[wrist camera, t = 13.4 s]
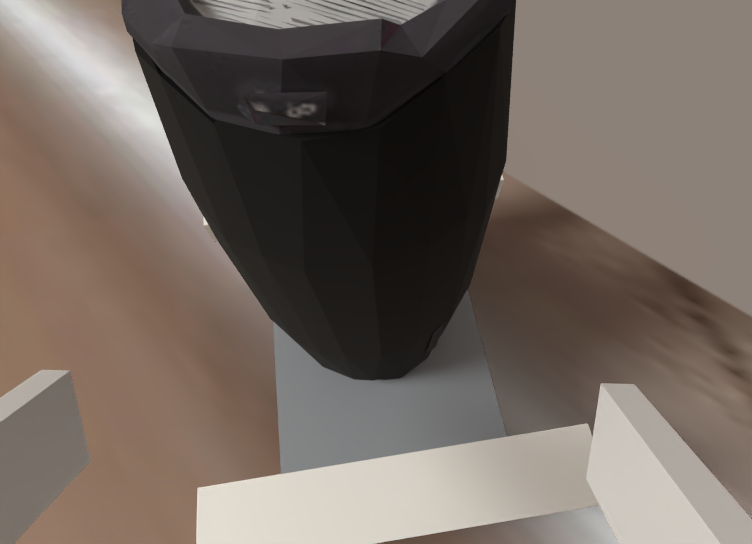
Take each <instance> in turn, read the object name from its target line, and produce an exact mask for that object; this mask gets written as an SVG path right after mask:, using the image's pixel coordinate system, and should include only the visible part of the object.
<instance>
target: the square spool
mask: <svg viewBox="0 0 752 544" xmlns="http://www.w3.org/2000/svg"><path fill="white" fill-rule="evenodd" d="M503 181H504V179H503V176H501V180H500V183H499V186H498V190H497V193H496V197H495V199H498V197H499V194H500V190H501V187H502V184H503ZM204 227H205V228H206V230H207V231H208V233H209V234H210V236H211V237H212V239H213V240H214V242H218V240H217V239H216V237H215V235H214V234H213V232H212V230H211V228H210V227H209V225H208V223H207V221H206V220H205V218H204ZM273 329H274V348H275V367H276V386H277V405H278V425H279V444H280V463H281V474H279V475H273V476H267V477H261V478H255V479H249V480H243V481H237V482H231V483H225V484H218V485H212V486H206V487H200V488H198V492H197V535H196V544H375V543H381V542H387V541H393V540H398V539H404V538H410V537H416V536H422V535H428V534H434V533H439V532H445V531H451V530H457V529H463V528H469V527H475V526H480V525H486V524H492V523H498V522H504V521H510V520H516V519H522V518H527V517H533V516H539V515H545V514H551V513H557V512H563V511H568V510H574V509H580V508H586V507H592V506H598V505H599V503H598V501H597V499H596V497H595V495H594V493H593V491H592V489H591V487H590V485H589V483H588V481H587V479H586V476H587V470H588V463H589V457H590V450H591V444H592V434H591V431H590V428H589V425H588V423H586V424H580V425H574V426H568V427H562V428H556V429H550V430H544V431H538V432H532V433H526V434H520V435H514V436H508V437H507V435H506V431H505V427H504V423H503V420H502V416H501V412H500V408H499V405H498V401H497V397H496V393H495V389H494V386H493V382H492V378H491V374H490V371H489V367H488V363H487V359H486V356H485V352H484V348H483V344H482V341H481V337H480V333H479V329H478V326H477V322H476V318H475V314H474V310H473V307H472V303H471V299H470V295H469V292H468V289H467V291H466V293H465V294H464V296H463V298H462V300H461V302H460V303H459V305H458V307H457V309H456V310H455V312H454V314H453V316H452V318H451V319H450V321H449V323H448V325H447V327H446V328H445V330H444V332H443V334H442V335H441V336H440V337H439V339H438V342H437V345H436V347H435V348H433V349H432V350H431V352H430V354H429V356H428V358H427V359H426V360H424V361H423V362H422V363H420V364H419V365H418V366H416V367H415V368H414V369H412V370H411V371H410V372H409V373H407V374H406V375H405V376H403V377H402V378H399V379H390V380H378V379H377V380H374V381H371V380H354V379H352V378H349V377H347V376H344V375H342V374H339V373H337V372H334V371H332V370H329V369H327V368H324V367H322V366H321V365H320V364H319V363H318V362H317V361H316V360H315V359H314V358H313V357H312V356H310V355H309V354H308V353H307V352H306V351H305V350H304V349H303V348H302V347H301V346H300V345H299V344H297V343H296V342H295V341H294V340H293V339H292V338H291V337H290V336H289V335H288V334H287V333H285V332H284V331H283V330H282V329H281V328H280V327H279V326H278V325H277V324H276V323H275V322H274V321H273Z"/></svg>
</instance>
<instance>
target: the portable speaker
mask: <svg viewBox="0 0 752 544" xmlns="http://www.w3.org/2000/svg"><path fill="white" fill-rule="evenodd" d="M515 7H516V0H122V15H123V19H124V22H125V26H126V29H127V32H128V33H129V34H130V35H131V36H132V37H133V42H134V47H135V51H136V54H137V57H138V59H139V62H140V65H141V68H142V70H143V73H144V76H145V78H146V81H147V84H148V87H149V89H150V92H151V95H152V97H153V100H154V103H155V106H156V108H157V111H158V114H159V116H160V119H161V122H162V125H163V127H164V130H165V133H166V136H167V138H168V141H169V144H170V146H171V149H172V152H173V155H174V157H175V160H176V163H177V165H178V168H179V171H180V174H181V176H182V179H183V181H184V182H185V184H186V186H187V188H188V189H189V191H190V193H191V195H192V197H193V198H194V200H195V202H196V204H197V205H198V207H199V209H200V211H201V212H202V214H203V216H204V218H205V220H206V221H207V223H208V225H209V227H210V228H211V230H212V232H213V234H214V235H215V237H216V239H217V240H218V242H219V243H220V245H221V246H222V248H223V249H224V251H225V252H226V254H227V255H228V257H229V258H230V260H231V261H232V262H233V264H234V265H235V267H236V268H237V270H238V271H239V273H240V274H241V276H242V277H243V279H244V280H245V282H246V283H247V285H248V286H249V288H250V289H251V291H252V292H253V294H254V295H255V296H256V298H257V299H258V301H259V302H260V304H261V305H262V307H263V308H264V310H265V311H266V313H267V314H268V316H269V317H270V319H271V320H272V321H274V322H275V323H276V324H277V325H278V326H279V327H280V328H281V329H282V330H283V331H284V332H285V333H287V334H288V335H289V336H290V337H291V338H292V339H293V340H294V341H295V342H296V343H297V344H299V345H300V346H301V347H302V348H303V349H304V350H305V351H306V352H307V353H308V354H309V355H310V356H312V357H313V358H314V359H315V360H316V361H317V362H318V363H319V364H320V365H321V366H322V367H324V368H327V369H329V370H332V371H334V372H337V373H339V374H342V375H344V376H347V377H349V378H352V379H354V380H371V381H374V380H377V379H378V380H390V379H399V378H402V377H403V376H405V375H406V374H407V373H409V372H410V371H411V370H412V369H414V368H415V367H416V366H418V365H419V364H420V363H422V362H423V361H424V360H426V359H427V358H428V356H429V354H430V352H431V350H432V349H433V348H435V347H436V345H437V342H438V339H439V337H440V336H441V335H442V334H443V332H444V330H445V328H446V327H447V325H448V323H449V321H450V319H451V318H452V316H453V314H454V312H455V310H456V309H457V307H458V305H459V303H460V302H461V300H462V298H463V296H464V294H465V293H466V291H467V289H468V287H469V285H470V283H471V279H472V276H473V272H474V269H475V265H476V262H477V258H478V255H479V252H480V248H481V245H482V241H483V238H484V234H485V231H486V228H487V224H488V221H489V217H490V214H491V210H492V207H493V204H494V200H495V197H496V193H497V190H498V186H499V183H500V180H501V176H502V173H503V169H504V166H505V162H506V154H507V137H508V122H509V105H510V88H511V72H512V56H513V40H514V24H515Z"/></svg>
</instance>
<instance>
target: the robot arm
mask: <svg viewBox="0 0 752 544" xmlns="http://www.w3.org/2000/svg"><path fill="white" fill-rule="evenodd" d="M90 461H91V460H90V455H89V451H88V447H87V442H86V438H85V434H84V429H83V425H82V421H81V416H80V412H79V408H78V403H77V399H76V394H75V390H74V386H73V381H72V377H71V373H70V371H66V370H40V371H39V372H37V373H36V374H34V375H33V376H31V377H30V378H29V379H27V380H26V381H24V382H23V383H21V384H20V385H18V386H17V387H15V388H14V389H12V390H11V391H9V392H8V393H6V394H5V395H4V396H2V397H1V398H0V544H14V543H15V542H16V541H17V540H18V539H19V538H20V536H21V535H22V534H23V533H24V532H25V531H26V530H27V529H28V528H29V527H30V526H31V525H32V524H33V523H34V521H35V520H36V519H37V518H38V517H39V516H40V515H41V514H42V513H43V512H44V511H45V510H46V509H47V507H48V506H49V505H50V504H51V503H52V502H53V501H54V500H55V499H56V498H57V497H58V496H59V495H60V493H61V492H62V491H63V490H64V489H65V488H66V487H67V486H68V485H69V484H70V483H71V482H72V481H73V480H74V478H75V477H76V476H77V475H78V474H79V473H80V472H81V471H82V470H83V469H84V468H85V467H86V466H87V464H88V463H89V462H90ZM586 479H587V481H588V483H589V485H590V487H591V489H592V491H593V493H594V495H595V497H596V499H597V501H598V503H599V505H600V507H601V509H602V511H603V513H604V515H605V517H606V519H607V521H608V523H609V525H610V527H611V529H612V531H613V533H614V535H615V537H616V539H617V541H618V543H619V544H752V519H751V518H750V517H749V515H748V514H747V513H746V512H745V511H744V510H743V509H742V507H741V506H740V505H739V504H738V503H737V502H736V500H735V499H734V498H733V497H732V496H731V495H730V494H729V492H728V491H727V490H726V489H725V488H724V487H723V486H722V484H721V483H720V482H719V481H718V480H717V479H716V478H715V476H714V475H713V474H712V473H711V472H710V471H709V469H708V468H707V467H706V466H705V465H704V464H703V463H702V461H701V460H700V459H699V458H698V457H697V456H696V455H695V453H694V452H693V451H692V450H691V449H690V448H689V446H688V445H687V444H686V443H685V442H684V441H683V440H682V438H681V437H680V436H679V435H678V434H677V433H676V432H675V430H674V429H673V428H672V427H671V426H670V425H669V424H668V422H667V421H666V420H665V419H664V418H663V417H662V415H661V414H660V413H659V412H658V411H657V410H656V409H655V407H654V406H653V405H652V404H651V403H650V402H649V401H648V399H647V398H646V397H645V396H644V395H643V394H642V393H641V391H640V390H639V389H638V388H637V387H636V386H635V384H611V383H601V385H600V392H599V398H598V405H597V411H596V418H595V424H594V431H593V437H592V444H591V450H590V457H589V463H588V470H587V476H586Z"/></svg>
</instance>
